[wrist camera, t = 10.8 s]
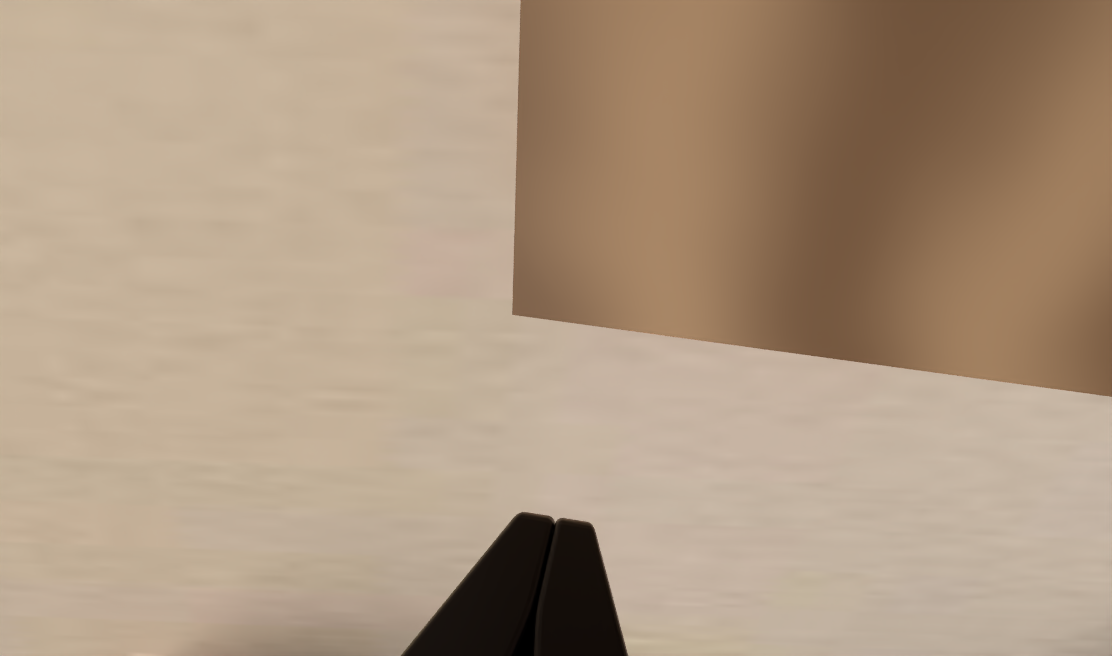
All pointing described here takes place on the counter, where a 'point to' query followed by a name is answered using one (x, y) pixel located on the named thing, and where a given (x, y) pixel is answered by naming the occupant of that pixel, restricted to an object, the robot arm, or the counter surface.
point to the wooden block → (825, 179)
